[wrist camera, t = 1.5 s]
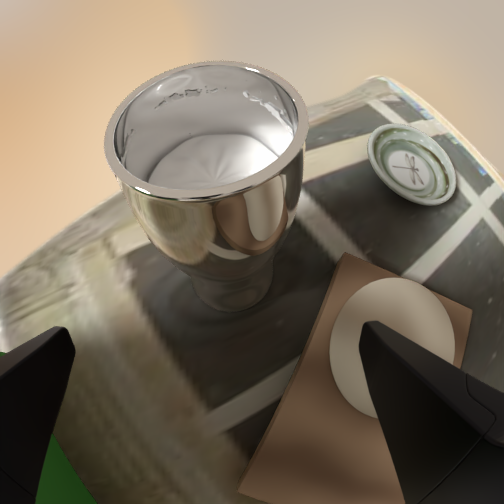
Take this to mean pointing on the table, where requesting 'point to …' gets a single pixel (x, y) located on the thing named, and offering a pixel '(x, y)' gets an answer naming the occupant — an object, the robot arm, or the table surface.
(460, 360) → the walnut base
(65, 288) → the table surface
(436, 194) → the saucer
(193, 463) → the table surface
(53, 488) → the hardback book
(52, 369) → the robot arm
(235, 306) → the metal tumbler
